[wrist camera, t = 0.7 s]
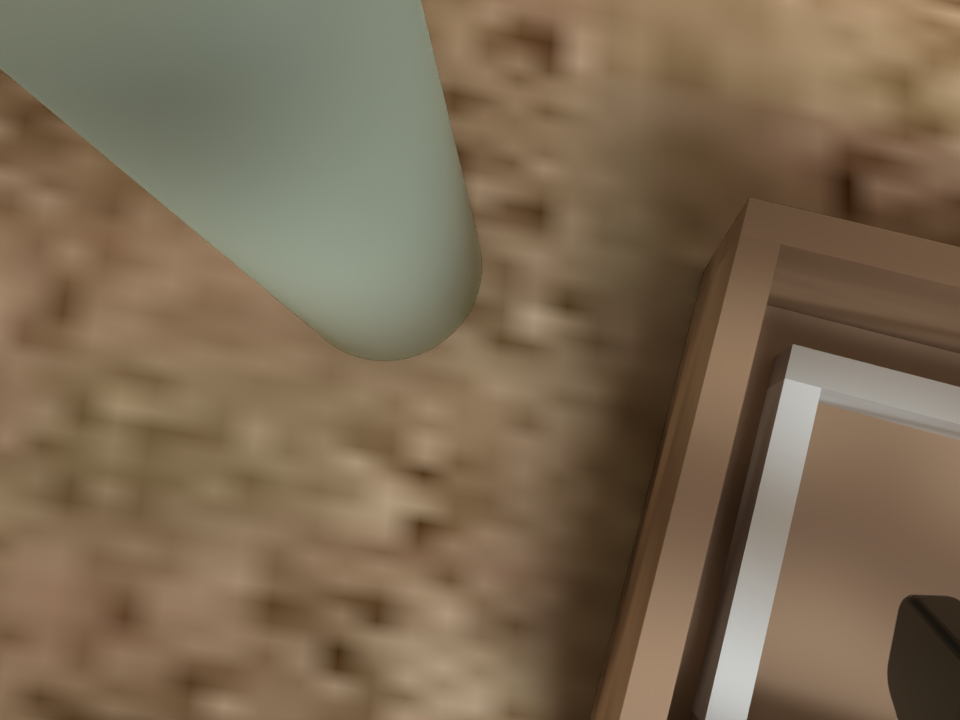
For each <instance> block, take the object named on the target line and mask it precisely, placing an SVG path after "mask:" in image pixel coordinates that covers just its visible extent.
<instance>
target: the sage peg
mask: <svg viewBox="0 0 960 720" xmlns="http://www.w3.org/2000/svg"><path fill="white" fill-rule="evenodd" d="M0 69H1V70H2V71H3V72H5V73H6V74H7V75H8V76H9V77H11V78H12V79H13V80H14V81H15V82H17V83H18V84H19V85H20V86H21V87H23V88H24V89H25V90H26V91H27V92H29V93H30V94H31V95H32V96H33V97H35V98H36V99H37V100H38V101H39V102H41V103H42V104H43V105H44V106H45V107H47V108H48V109H49V110H50V111H51V112H53V113H54V114H55V115H56V116H57V117H59V118H60V119H61V120H62V121H63V122H65V123H66V124H67V125H68V126H69V127H71V128H72V129H73V130H74V131H75V132H77V133H78V134H79V135H80V136H81V137H83V138H84V139H85V140H86V141H87V142H89V143H90V144H91V145H92V146H93V147H95V148H96V149H97V150H98V151H99V152H101V153H102V154H103V155H104V156H105V157H107V158H108V159H109V160H110V161H111V162H113V163H114V164H115V165H116V166H117V167H119V168H120V169H121V170H122V171H123V172H125V173H126V174H127V175H128V176H129V177H131V178H132V179H133V180H134V181H135V182H137V183H138V184H139V185H140V186H141V187H143V188H144V189H145V190H146V191H147V192H149V193H150V194H151V195H152V196H153V197H155V198H156V199H157V200H158V201H159V202H161V203H162V204H163V205H164V206H165V207H167V208H168V209H169V210H170V211H171V212H173V213H174V214H175V215H176V216H177V217H179V218H180V219H181V220H182V221H183V222H185V223H186V224H187V225H188V226H189V227H191V228H192V229H193V230H194V231H195V232H197V233H198V234H199V235H200V236H201V237H203V238H204V239H205V240H206V241H207V242H209V243H210V244H211V245H212V246H213V247H215V248H216V249H217V250H218V251H219V252H221V253H222V254H223V255H224V256H225V257H227V258H228V259H229V260H230V261H231V262H233V263H234V264H235V265H236V266H237V267H239V268H240V269H241V270H242V271H243V272H245V273H246V274H247V275H248V276H249V277H251V278H252V279H253V280H254V281H255V282H257V283H258V284H259V285H260V286H261V287H263V288H264V289H265V290H266V291H267V292H269V293H270V294H271V295H272V296H273V297H275V298H276V299H277V300H278V301H279V302H281V303H282V304H283V305H284V306H285V307H287V308H288V309H289V310H290V311H291V312H293V313H294V314H295V315H296V316H297V317H299V318H300V319H301V320H302V321H303V322H305V323H306V324H307V325H308V326H309V327H311V328H312V329H313V330H314V331H315V332H317V333H318V334H319V335H320V336H321V337H323V338H324V339H325V340H326V341H328V342H329V343H330V344H332V345H333V346H335V347H336V348H338V349H340V350H342V351H344V352H346V353H348V354H351V355H353V356H356V357H359V358H364V359H369V360H377V361H392V360H400V359H405V358H410V357H413V356H416V355H419V354H422V353H424V352H426V351H428V350H430V349H432V348H434V347H435V346H437V345H438V344H440V343H442V342H443V341H444V340H445V339H447V338H448V337H449V336H450V335H451V334H453V332H454V331H455V330H456V329H457V328H458V327H459V326H460V325H461V324H462V322H463V321H464V319H465V318H466V317H467V315H468V314H469V312H470V310H471V308H472V306H473V304H474V302H475V299H476V297H477V294H478V291H479V287H480V282H481V274H482V256H481V250H480V245H479V241H478V236H477V232H476V228H475V224H474V220H473V216H472V211H471V207H470V203H469V199H468V195H467V190H466V186H465V182H464V178H463V174H462V169H461V165H460V161H459V157H458V153H457V149H456V144H455V140H454V136H453V132H452V128H451V123H450V119H449V115H448V111H447V107H446V103H445V98H444V94H443V90H442V86H441V82H440V77H439V73H438V69H437V65H436V61H435V57H434V52H433V48H432V44H431V40H430V36H429V31H428V27H427V23H426V19H425V15H424V11H423V6H422V2H421V0H0Z"/></svg>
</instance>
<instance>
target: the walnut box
mask: <svg viewBox="0 0 960 720" xmlns="http://www.w3.org/2000/svg"><path fill="white" fill-rule="evenodd" d="M912 594H913V595H945V596H951V597H954V598H956V599H958V600H960V247H958V246H954V245H949V244H945V243H941V242H937V241H933V240H928V239H924V238H920V237H916V236H912V235H907V234H903V233H899V232H895V231H891V230H886V229H882V228H878V227H874V226H870V225H865V224H861V223H857V222H853V221H849V220H844V219H840V218H836V217H832V216H828V215H823V214H819V213H815V212H811V211H807V210H802V209H798V208H794V207H790V206H786V205H781V204H777V203H773V202H769V201H765V200H760V199H756V198H752V197H749V199H748V201H747V202H746V204H745V205H744V207H743V209H742V210H741V212H740V213H739V215H738V217H737V218H736V220H735V222H734V223H733V225H732V226H731V228H730V230H729V231H728V233H727V234H726V236H725V238H724V239H723V241H722V242H721V244H720V246H719V247H718V249H717V250H716V252H715V254H714V255H713V257H712V258H711V260H710V262H709V263H708V265H707V266H706V268H705V270H704V273H703V277H702V280H701V284H700V288H699V292H698V296H697V300H696V304H695V308H694V312H693V316H692V320H691V324H690V328H689V331H688V335H687V339H686V343H685V347H684V351H683V355H682V359H681V363H680V367H679V371H678V375H677V379H676V382H675V386H674V390H673V394H672V398H671V402H670V406H669V410H668V414H667V418H666V422H665V426H664V430H663V433H662V437H661V441H660V445H659V449H658V453H657V457H656V461H655V465H654V469H653V473H652V477H651V481H650V484H649V488H648V492H647V496H646V500H645V504H644V508H643V512H642V516H641V520H640V524H639V528H638V532H637V535H636V539H635V543H634V547H633V551H632V555H631V559H630V563H629V567H628V571H627V575H626V579H625V583H624V587H623V590H622V594H621V598H620V602H619V606H618V610H617V614H616V618H615V622H614V626H613V630H612V634H611V638H610V641H609V645H608V649H607V653H606V657H605V661H604V665H603V669H602V673H601V677H600V681H599V685H598V689H597V692H596V696H595V700H594V704H593V708H592V712H591V716H590V720H898V718H897V715H896V712H895V709H894V705H893V702H892V699H891V696H890V692H889V687H888V680H887V666H888V660H889V655H890V649H891V644H892V639H893V634H894V629H895V624H896V618H897V613H898V609H899V606H900V603H901V602H902V600H903V599H904V598H905V597H907V596H908V595H912Z"/></svg>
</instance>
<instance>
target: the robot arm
mask: <svg viewBox="0 0 960 720" xmlns="http://www.w3.org/2000/svg"><path fill="white" fill-rule="evenodd" d="M887 680H888V687H889V692H890V696H891V699H892V702H893V705H894V709H895V712H896V715H897V718H898V720H960V600H958V599H956V598H954V597H951V596H945V595H913V594H912V595H908V596H907V597H905V598H904V599H903V600H902V602H901V603H900V606H899V609H898V613H897V618H896V624H895V629H894V634H893V639H892V644H891V649H890V655H889V660H888V666H887Z"/></svg>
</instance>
